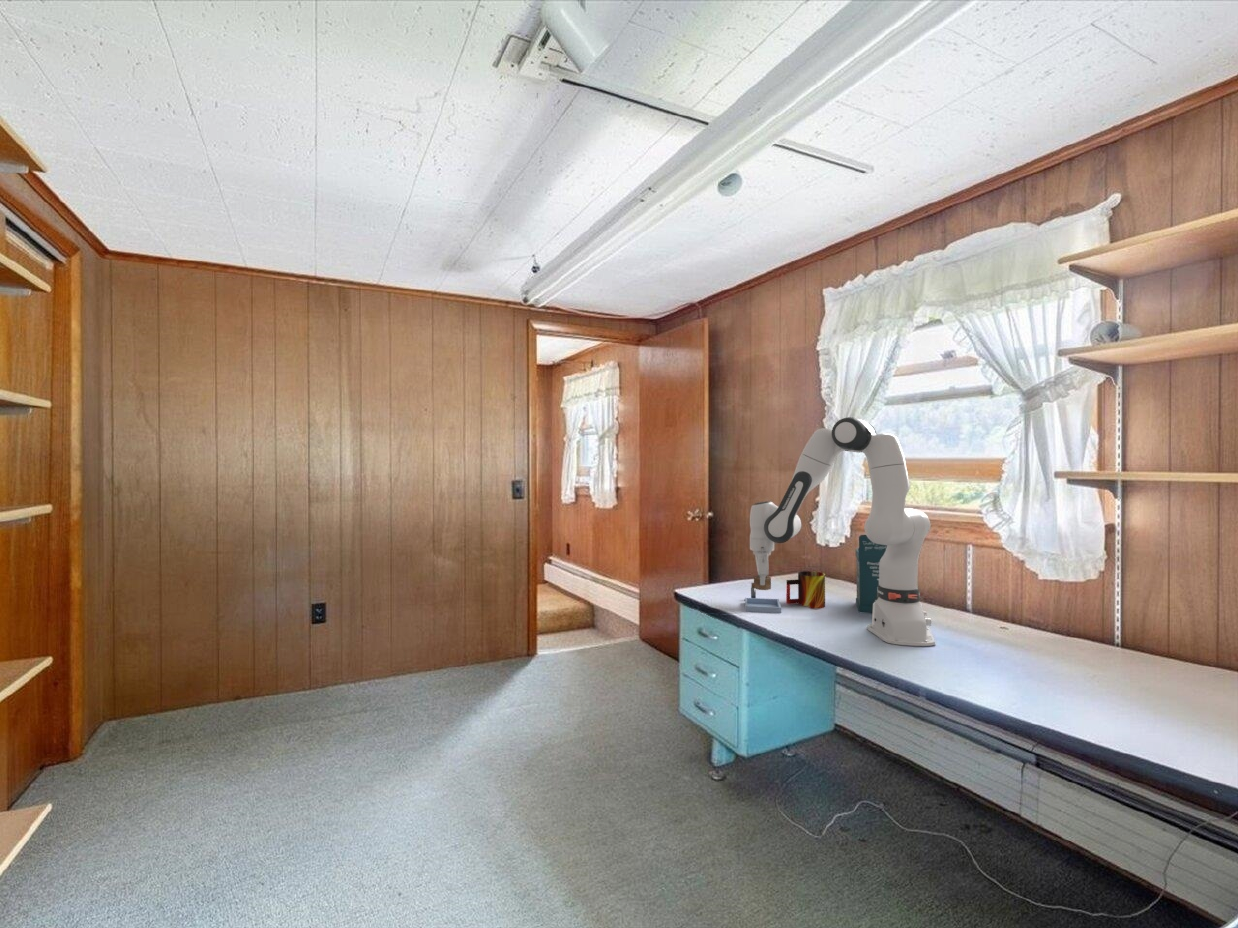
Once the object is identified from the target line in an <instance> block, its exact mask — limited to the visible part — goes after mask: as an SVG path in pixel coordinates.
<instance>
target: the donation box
mask: <svg viewBox="0 0 1238 928" xmlns="http://www.w3.org/2000/svg"><path fill="white" fill-rule="evenodd" d="M886 548H887V545H881V544H876V543H874V542H872V541H871V540H869V538H868V537H867V535H866V534H860V535H858V548H855V558H856V560H855V561H856V567H855V568H856V598H855V606H856V608H857V611H858V613H862V614H873V603H874V602H875V601H876V600H877V599H878V597H879V596H878V591H877V589H878V585H879V562H880V559H881V558H882V556H883V555H884V553H885V551H886Z"/></svg>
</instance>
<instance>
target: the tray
mask: <svg viewBox="0 0 1238 928" xmlns="http://www.w3.org/2000/svg"><path fill="white" fill-rule="evenodd" d="M744 599H745V601H744V606H745V607H744V608H745V613H746V612H747V613H748V612H749V613H770V614H772V613H773V614H782V605H781V601H780V599H779V598H764V597H763V598H762V597H761V598H760V597H759V598H758V597H756V598H751V597H744Z"/></svg>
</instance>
